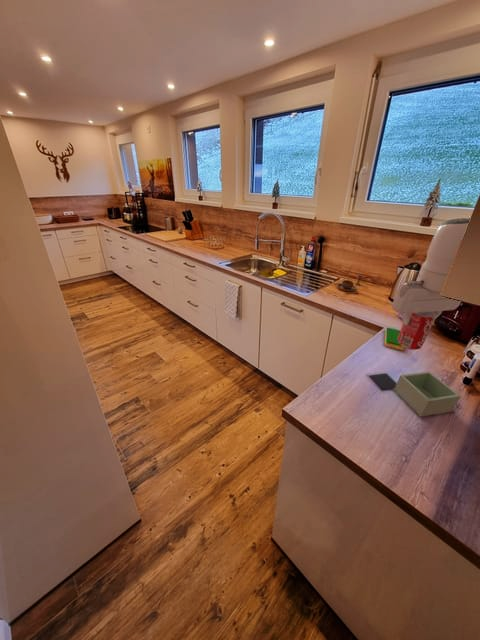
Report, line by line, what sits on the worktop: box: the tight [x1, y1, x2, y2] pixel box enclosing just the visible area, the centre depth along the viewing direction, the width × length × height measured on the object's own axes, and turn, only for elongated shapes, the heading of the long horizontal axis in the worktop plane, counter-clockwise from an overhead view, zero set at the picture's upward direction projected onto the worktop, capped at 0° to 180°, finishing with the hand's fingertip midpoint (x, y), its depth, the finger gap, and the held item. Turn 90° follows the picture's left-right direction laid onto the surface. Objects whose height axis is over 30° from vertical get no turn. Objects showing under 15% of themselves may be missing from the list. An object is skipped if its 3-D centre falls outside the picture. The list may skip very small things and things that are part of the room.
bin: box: [393, 370, 462, 417], centre depth 85 cm, size 12×12×7 cm
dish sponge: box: [384, 327, 405, 351], centre depth 117 cm, size 7×14×2 cm, turn 152°
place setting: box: [334, 275, 362, 295], centre depth 170 cm, size 18×20×6 cm
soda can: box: [397, 311, 435, 351], centre depth 81 cm, size 7×7×12 cm
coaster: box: [368, 373, 397, 391], centre depth 93 cm, size 7×7×1 cm
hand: (417, 323), depth 80 cm, fingers closed on soda can, 7 cm apart
